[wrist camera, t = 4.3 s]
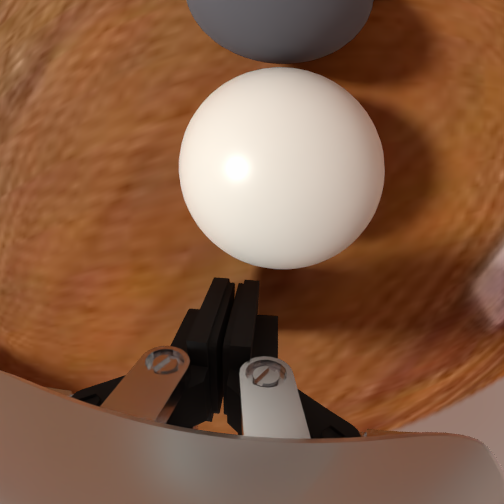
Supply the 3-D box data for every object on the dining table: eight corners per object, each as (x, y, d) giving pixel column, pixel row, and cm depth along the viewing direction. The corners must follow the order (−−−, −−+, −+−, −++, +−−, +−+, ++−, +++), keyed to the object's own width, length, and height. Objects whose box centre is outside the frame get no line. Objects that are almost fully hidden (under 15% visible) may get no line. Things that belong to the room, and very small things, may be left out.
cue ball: (232, 334, 8) (245, 224, 12) (430, 271, 6) (371, 176, 11) (97, 167, 5) (174, 108, 9) (374, 31, 3) (318, 41, 8)
